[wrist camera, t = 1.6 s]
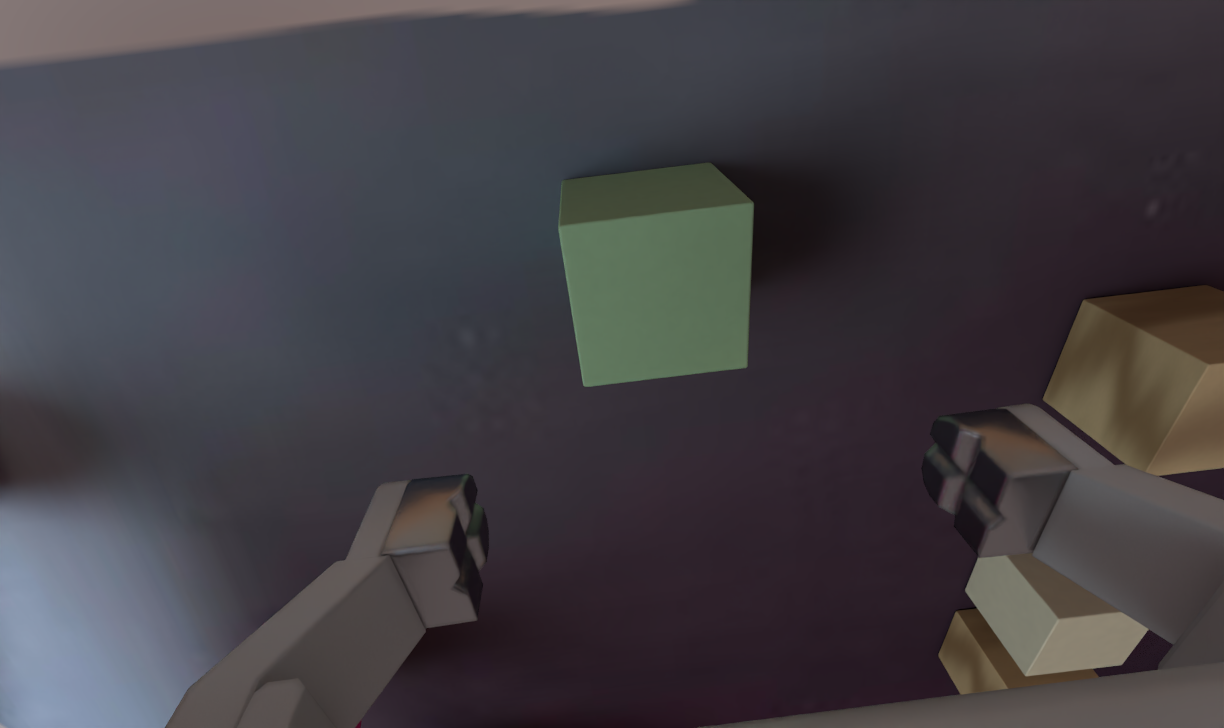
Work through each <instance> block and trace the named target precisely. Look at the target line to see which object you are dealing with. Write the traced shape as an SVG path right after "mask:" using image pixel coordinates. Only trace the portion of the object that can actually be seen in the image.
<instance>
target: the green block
mask: <svg viewBox="0 0 1224 728" xmlns="http://www.w3.org/2000/svg"><path fill="white" fill-rule="evenodd" d="M753 218H754V203H753V202H752V201H751V200H750V199H749V198H748V197H747V196H746V195H745V194H744V193H743V192H742V191H741V190H740V189H738V188H737V187H736V186H735V185H734V184H733V183H732V182H731V181H730V180H729V179H728V178H727V177H726V176H724V175H723V174H722V173H721V172H720V171H719V170H718V169H717V168H716V167H715V166H714V165H713V164H712V163H710V162H709V163H701V164H693V165H684V166H676V167H668V168H660V169H651V170H643V171H635V172H626V173H618V174H610V175H601V176H593V177H585V178H577V179H568V180H563V181H562V186H561V199H560V212H559V225H558V229H559V235H560V242H561V248H562V254H563V261H564V267H565V273H566V279H567V286H568V292H569V298H570V305H571V311H572V317H573V323H574V330H575V336H576V342H577V349H578V355H579V361H580V368H581V374H582V380H583V385H584V387H590V386H598V385H607V384H615V383H623V382H632V381H640V380H648V379H657V378H665V377H673V376H682V375H690V374H698V373H707V372H715V371H723V370H732V369H740V368H746V367H747V365H748V342H749V317H750V292H751V267H752V243H753Z"/></svg>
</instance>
